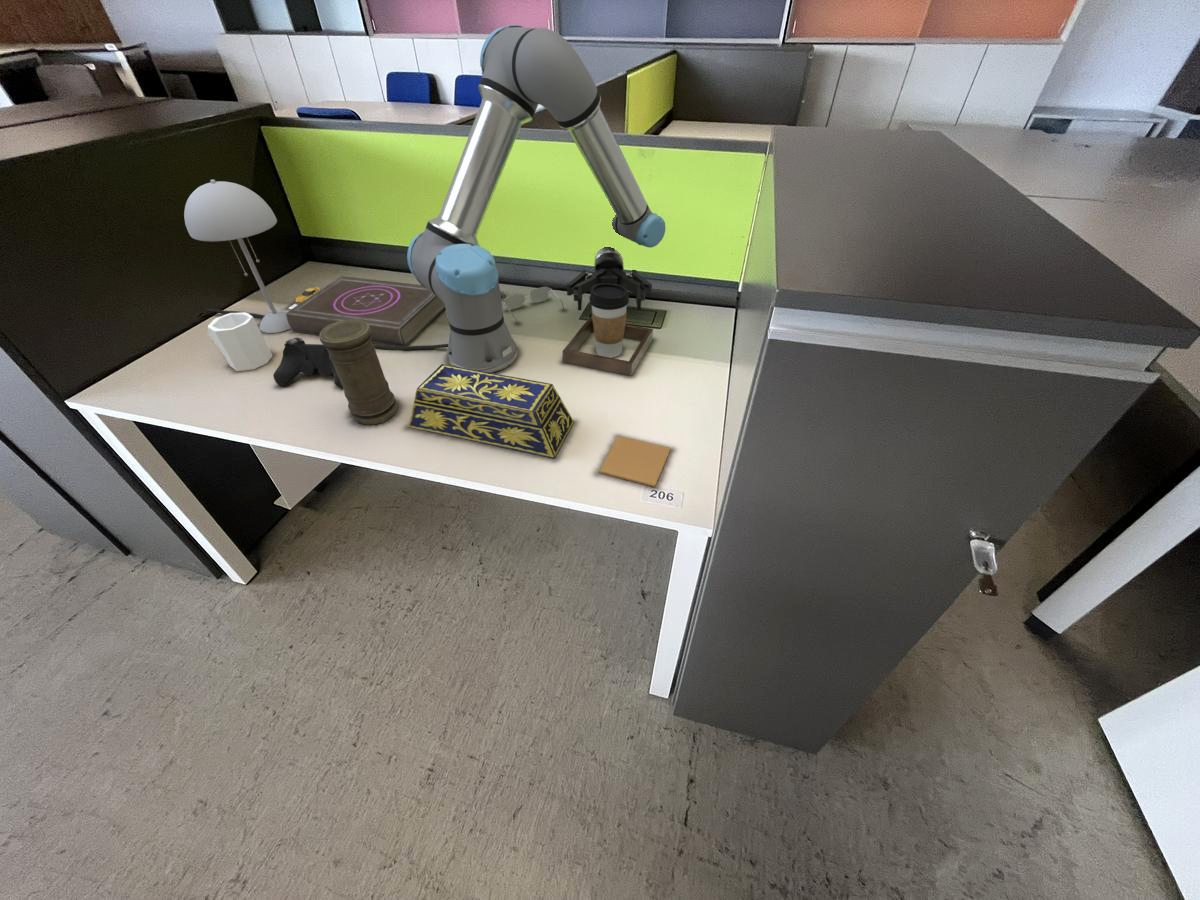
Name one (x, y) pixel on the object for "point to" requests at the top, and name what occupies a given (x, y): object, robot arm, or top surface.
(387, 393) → the container
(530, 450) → the decorative box
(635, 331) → the wooden square frame
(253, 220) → the lamp
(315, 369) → the game controller
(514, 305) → the eyeglasses
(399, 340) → the book
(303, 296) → the toy car
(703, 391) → the top surface
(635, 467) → the coaster
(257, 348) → the mug
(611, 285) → the coffee cup
